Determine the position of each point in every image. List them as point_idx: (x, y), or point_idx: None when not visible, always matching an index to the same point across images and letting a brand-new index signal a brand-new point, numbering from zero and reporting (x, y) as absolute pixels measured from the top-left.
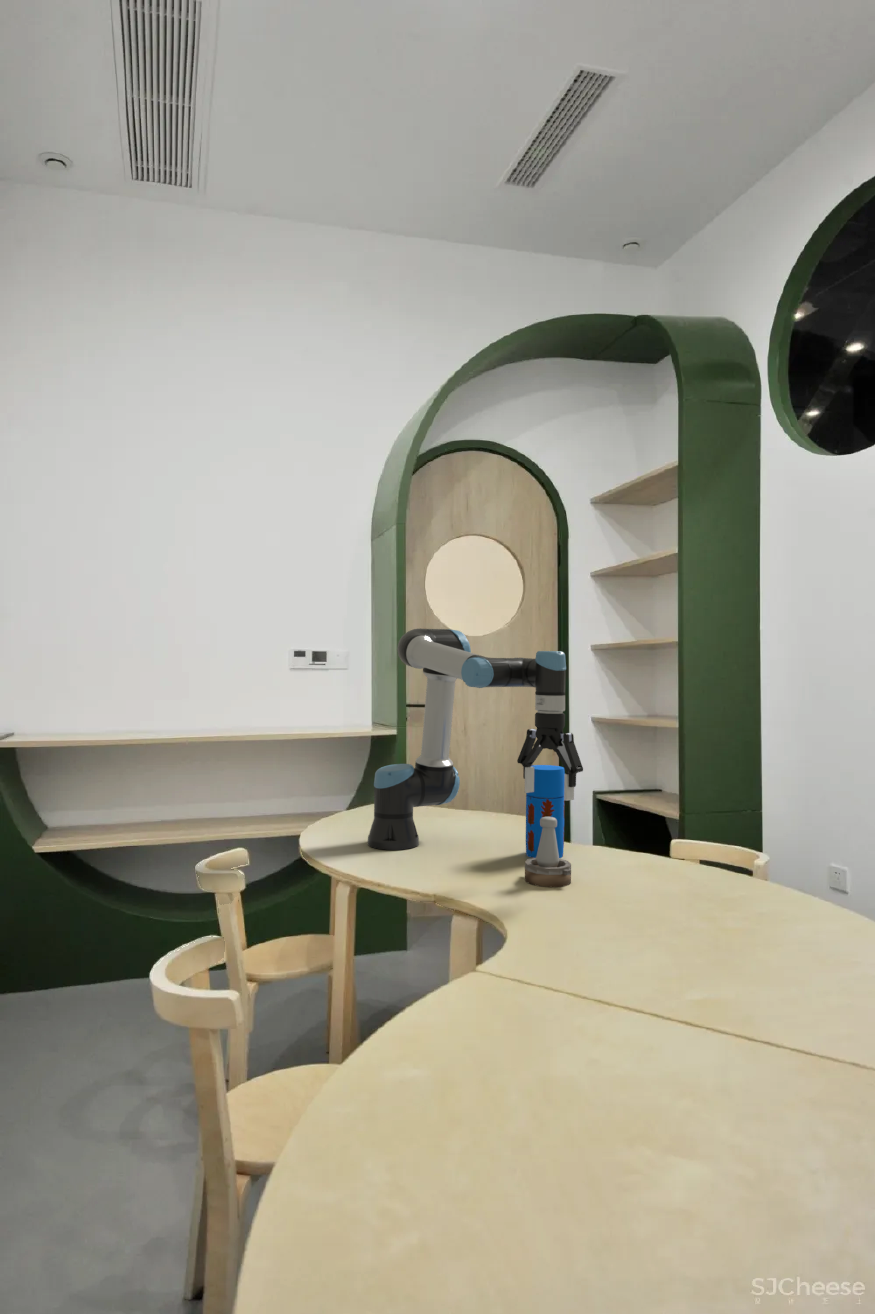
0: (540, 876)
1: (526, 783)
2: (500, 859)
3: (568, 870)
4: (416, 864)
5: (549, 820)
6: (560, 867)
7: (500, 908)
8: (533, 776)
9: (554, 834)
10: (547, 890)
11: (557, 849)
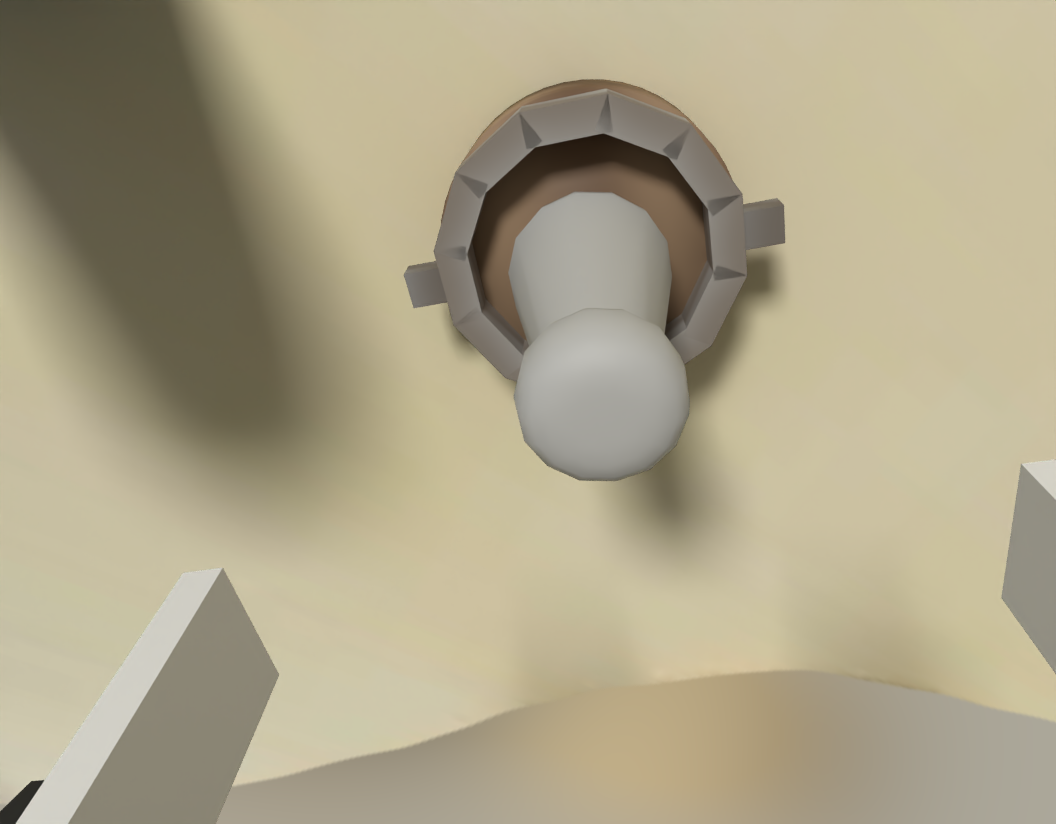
0: None
1: (220, 793)
2: (43, 203)
3: (774, 223)
4: (91, 602)
5: (670, 449)
6: (728, 260)
7: (819, 632)
8: (102, 798)
9: (650, 321)
10: (737, 341)
11: (646, 248)
